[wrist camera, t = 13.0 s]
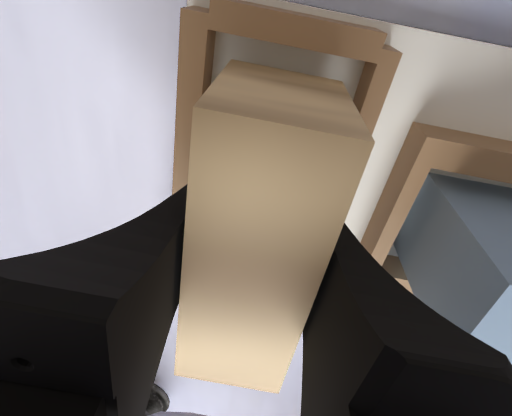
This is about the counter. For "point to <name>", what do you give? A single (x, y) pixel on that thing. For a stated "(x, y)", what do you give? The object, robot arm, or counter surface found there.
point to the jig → (365, 98)
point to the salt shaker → (157, 401)
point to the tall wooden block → (262, 218)
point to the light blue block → (462, 255)
